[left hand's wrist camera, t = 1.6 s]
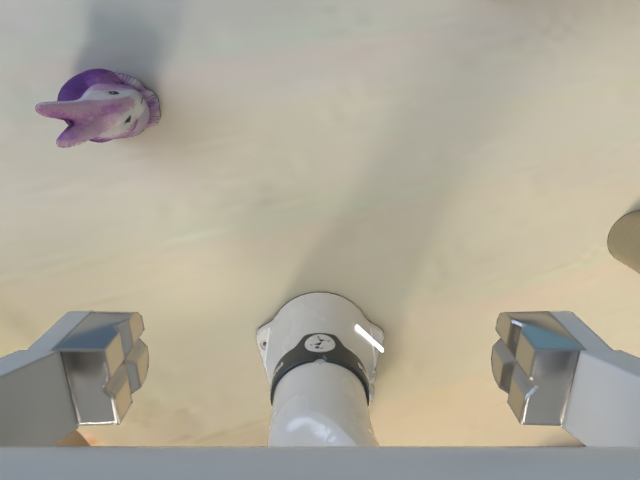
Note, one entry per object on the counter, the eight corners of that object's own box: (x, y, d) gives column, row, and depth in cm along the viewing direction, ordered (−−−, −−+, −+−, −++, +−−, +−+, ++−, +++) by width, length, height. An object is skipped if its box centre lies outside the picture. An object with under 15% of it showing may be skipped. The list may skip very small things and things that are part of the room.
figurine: (180, 102, 54) (131, 112, 40) (128, 159, 57) (65, 188, 42) (118, 41, 52) (43, 28, 38) (67, 103, 54) (-22, 114, 40)
